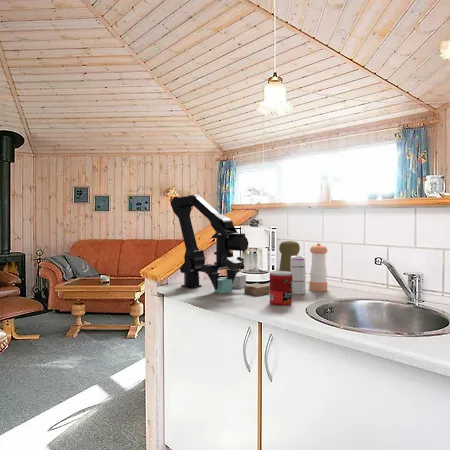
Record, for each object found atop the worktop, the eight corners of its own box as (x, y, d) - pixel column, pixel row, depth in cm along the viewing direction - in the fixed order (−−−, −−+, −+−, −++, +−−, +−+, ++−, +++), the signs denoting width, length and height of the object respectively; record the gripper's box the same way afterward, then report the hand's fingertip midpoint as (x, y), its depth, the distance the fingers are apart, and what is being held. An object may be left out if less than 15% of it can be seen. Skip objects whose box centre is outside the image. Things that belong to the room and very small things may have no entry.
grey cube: (229, 287, 173) (229, 275, 173) (235, 285, 177) (235, 274, 177) (239, 288, 170) (239, 276, 170) (245, 286, 174) (245, 275, 174)
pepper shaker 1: (303, 286, 174) (303, 242, 174) (278, 286, 174) (279, 242, 174) (299, 282, 185) (299, 240, 184) (275, 282, 185) (276, 240, 184)
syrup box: (305, 294, 158) (305, 257, 157) (290, 293, 159) (290, 256, 158) (305, 291, 163) (305, 255, 163) (290, 290, 165) (290, 255, 164)
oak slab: (244, 292, 160) (244, 285, 160) (256, 290, 165) (256, 283, 165) (257, 295, 155) (257, 287, 155) (269, 293, 160) (269, 285, 159)
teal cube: (214, 291, 163) (214, 279, 163) (223, 290, 166) (223, 278, 166) (222, 293, 159) (222, 281, 159) (232, 292, 162) (232, 279, 162)
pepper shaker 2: (325, 288, 170) (326, 242, 170) (328, 291, 163) (329, 244, 162) (308, 288, 171) (308, 242, 170) (310, 291, 164) (310, 244, 163)
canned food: (287, 307, 136) (287, 274, 136) (265, 304, 141) (265, 272, 140) (295, 302, 143) (296, 271, 143) (275, 300, 147) (275, 270, 147)
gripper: (219, 252, 150) (219, 294, 150) (254, 249, 162) (253, 288, 163) (200, 250, 158) (200, 290, 159) (234, 247, 171) (234, 284, 171)
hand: (223, 288), depth 163 cm, fingers open, 7 cm apart
